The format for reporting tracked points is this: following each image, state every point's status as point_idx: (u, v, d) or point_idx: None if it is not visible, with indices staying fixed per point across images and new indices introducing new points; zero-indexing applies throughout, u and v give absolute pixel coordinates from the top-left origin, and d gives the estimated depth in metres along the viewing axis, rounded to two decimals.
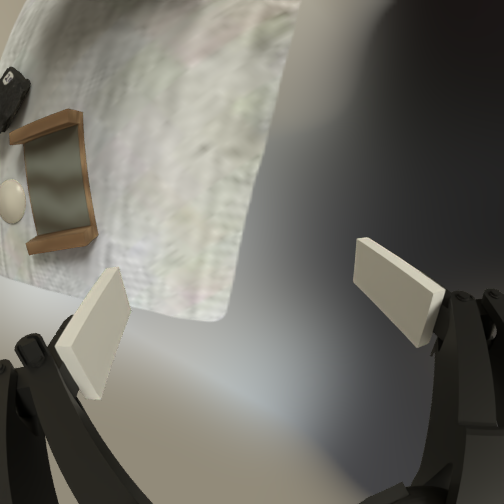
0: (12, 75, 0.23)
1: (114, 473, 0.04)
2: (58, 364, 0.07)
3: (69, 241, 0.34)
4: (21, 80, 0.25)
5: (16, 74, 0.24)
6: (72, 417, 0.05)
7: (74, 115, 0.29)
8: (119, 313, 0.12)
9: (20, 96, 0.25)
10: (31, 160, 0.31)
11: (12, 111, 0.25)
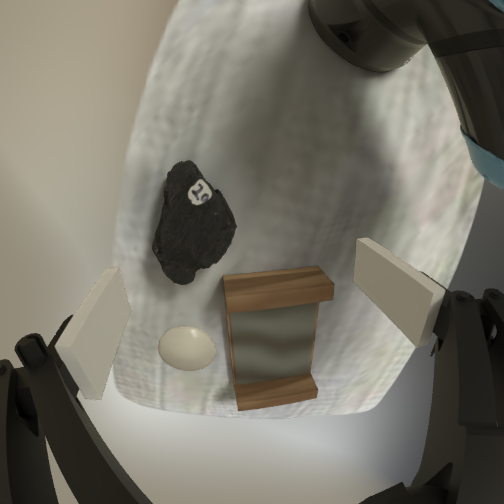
0: (209, 190, 0.25)
1: (114, 473, 0.04)
2: (58, 364, 0.07)
3: (299, 397, 0.36)
4: (220, 199, 0.27)
5: (207, 183, 0.26)
6: (72, 417, 0.05)
7: None
8: (119, 313, 0.12)
9: (232, 237, 0.27)
10: (242, 318, 0.34)
11: (217, 259, 0.28)
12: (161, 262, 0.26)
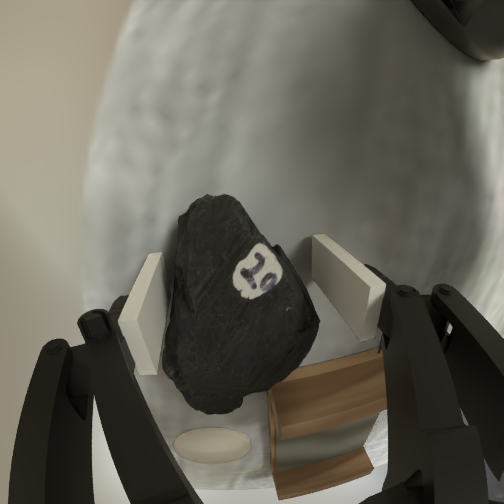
0: (276, 265, 0.12)
1: (166, 455, 0.04)
2: (119, 339, 0.09)
3: (351, 478, 0.23)
4: (290, 271, 0.14)
5: (267, 244, 0.13)
6: (131, 395, 0.06)
7: None
8: (164, 295, 0.14)
9: None
10: None
11: (284, 377, 0.14)
12: (183, 391, 0.13)
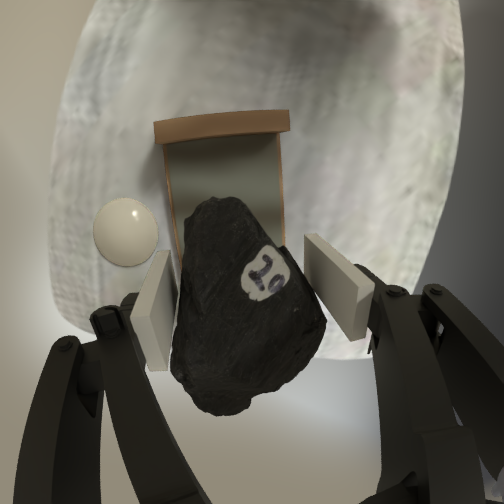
0: (284, 266, 0.12)
1: (177, 452, 0.04)
2: (131, 335, 0.09)
3: None
4: (297, 271, 0.14)
5: (274, 245, 0.13)
6: (142, 392, 0.06)
7: None
8: (172, 292, 0.14)
9: (319, 340, 0.14)
10: (184, 174, 0.27)
11: (292, 377, 0.14)
12: (191, 393, 0.13)
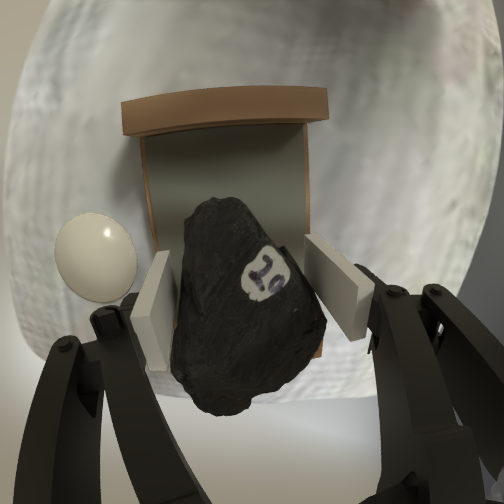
0: (284, 266, 0.12)
1: (177, 453, 0.04)
2: (131, 335, 0.09)
3: None
4: (297, 271, 0.14)
5: (274, 245, 0.13)
6: (142, 392, 0.06)
7: None
8: (172, 292, 0.14)
9: (319, 341, 0.14)
10: (169, 180, 0.18)
11: (292, 377, 0.14)
12: (191, 394, 0.13)
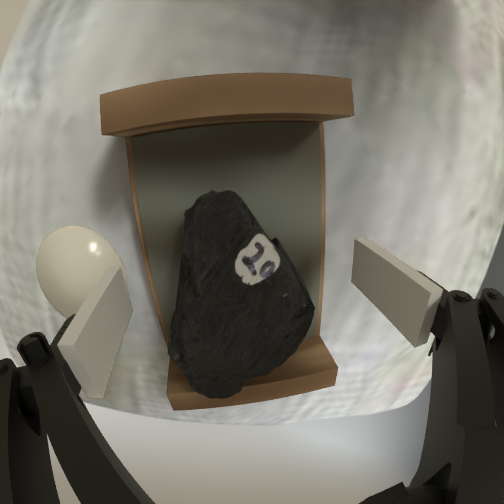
0: (274, 254, 0.13)
1: (116, 472, 0.04)
2: (61, 363, 0.07)
3: (299, 385, 0.18)
4: (287, 261, 0.15)
5: (266, 235, 0.14)
6: (74, 416, 0.05)
7: None
8: (121, 312, 0.12)
9: None
10: (161, 188, 0.15)
11: (282, 362, 0.15)
12: (186, 374, 0.14)
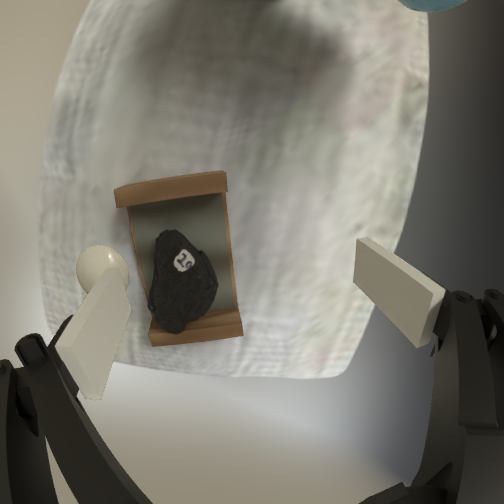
0: (191, 258, 0.29)
1: (114, 473, 0.04)
2: (58, 364, 0.07)
3: (220, 332, 0.33)
4: (203, 261, 0.31)
5: (190, 249, 0.30)
6: (72, 417, 0.05)
7: None
8: (119, 313, 0.12)
9: (215, 294, 0.31)
10: (145, 227, 0.31)
11: (204, 313, 0.31)
12: (156, 317, 0.30)
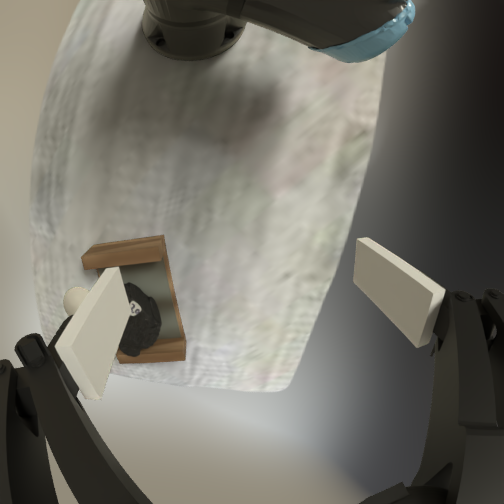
0: (139, 306, 0.37)
1: (114, 473, 0.04)
2: (58, 364, 0.07)
3: (167, 357, 0.42)
4: (149, 307, 0.39)
5: (139, 299, 0.38)
6: (72, 417, 0.05)
7: (161, 247, 0.37)
8: (119, 313, 0.12)
9: (159, 331, 0.39)
10: None
11: (152, 343, 0.39)
12: None
